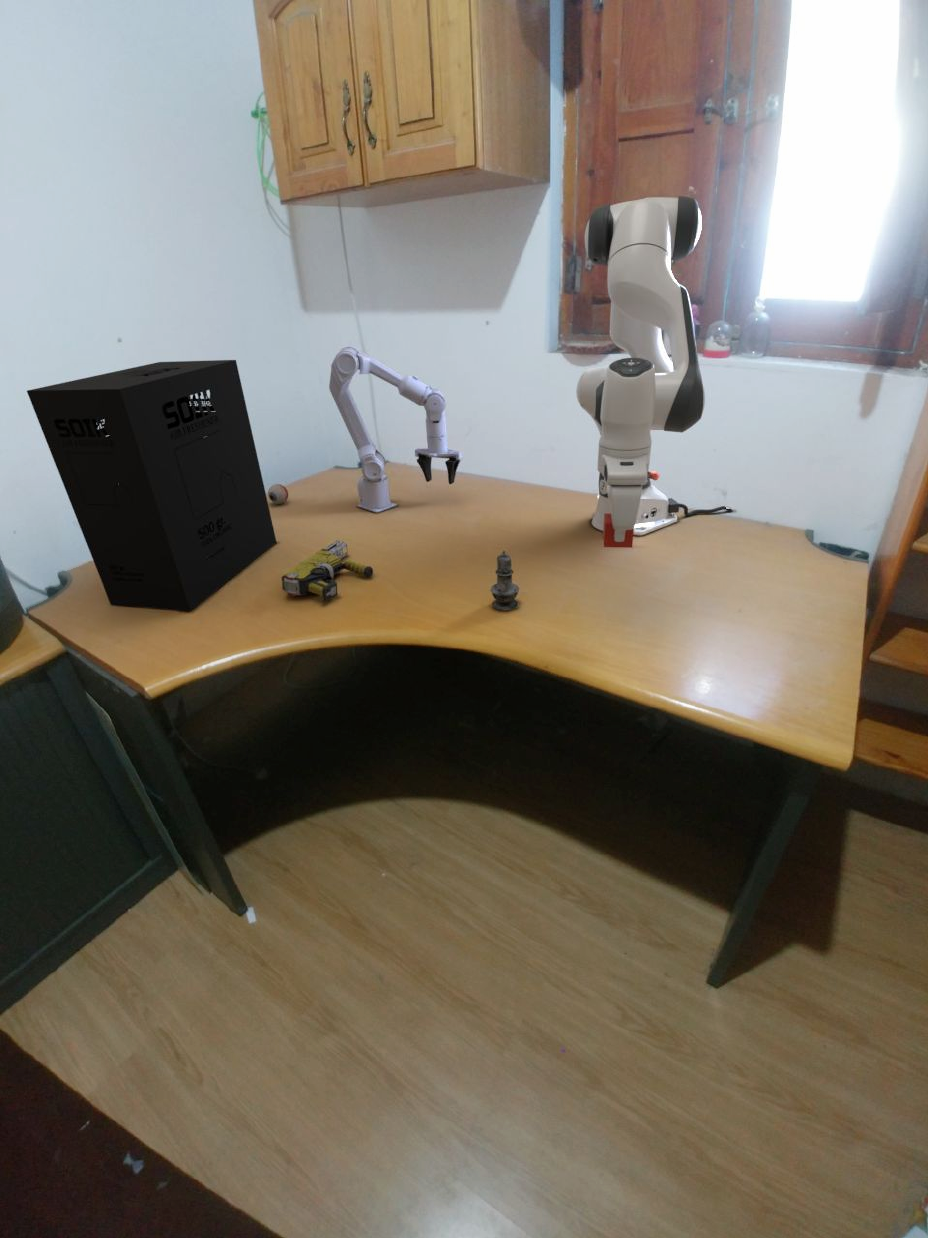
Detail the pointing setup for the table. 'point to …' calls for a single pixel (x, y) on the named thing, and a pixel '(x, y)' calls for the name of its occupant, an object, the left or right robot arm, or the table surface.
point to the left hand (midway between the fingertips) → (440, 481)
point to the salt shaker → (504, 585)
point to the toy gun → (321, 572)
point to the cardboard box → (160, 478)
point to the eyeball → (278, 493)
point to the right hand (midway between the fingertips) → (617, 533)
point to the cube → (609, 534)
